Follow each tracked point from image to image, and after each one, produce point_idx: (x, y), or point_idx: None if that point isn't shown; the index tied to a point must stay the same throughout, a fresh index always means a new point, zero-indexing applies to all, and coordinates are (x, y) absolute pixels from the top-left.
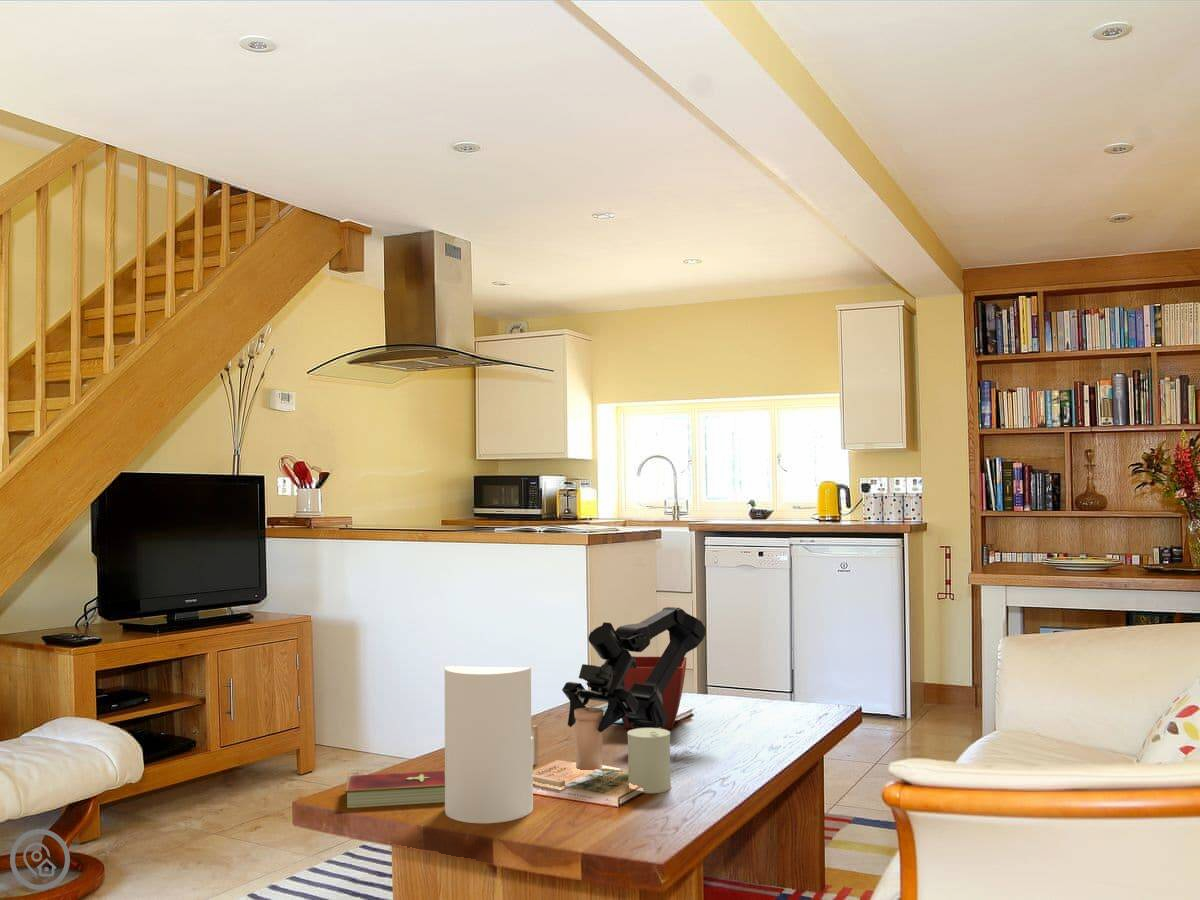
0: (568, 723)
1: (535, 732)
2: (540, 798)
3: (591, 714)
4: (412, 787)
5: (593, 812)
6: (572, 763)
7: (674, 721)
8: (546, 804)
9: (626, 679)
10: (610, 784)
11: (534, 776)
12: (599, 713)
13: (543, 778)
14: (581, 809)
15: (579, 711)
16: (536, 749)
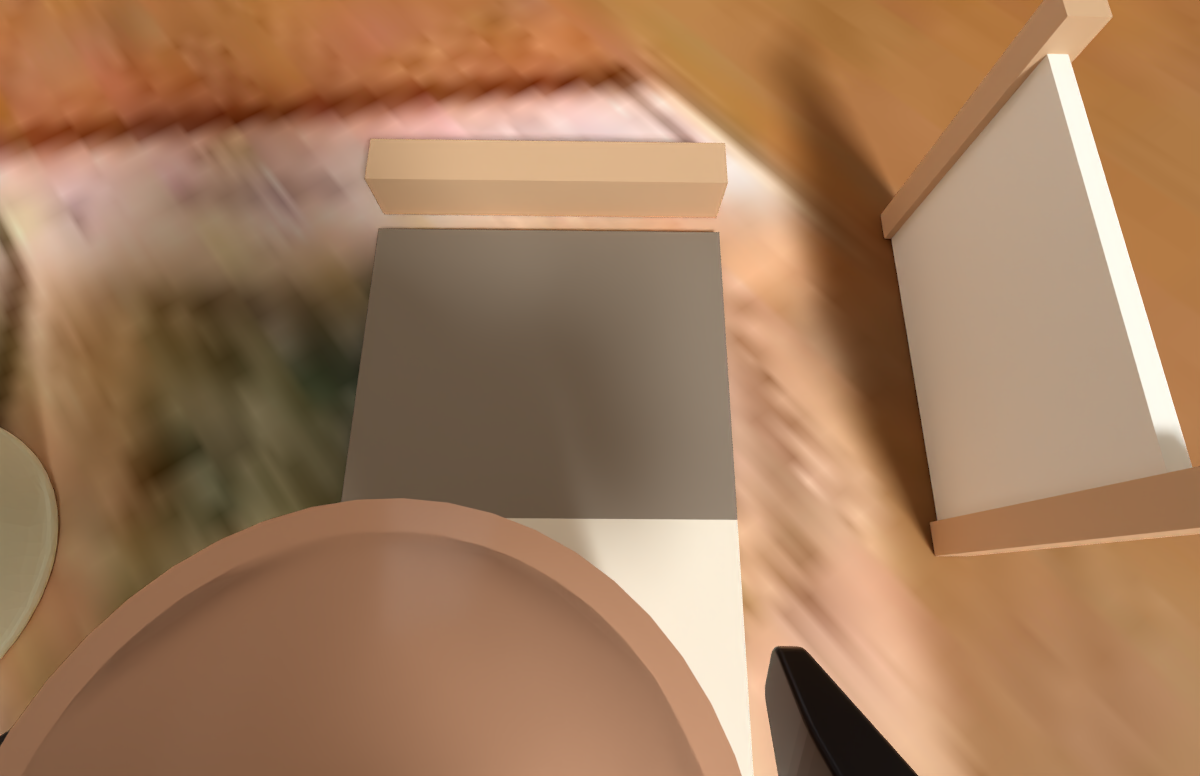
0: (792, 652)
1: (1140, 489)
2: (416, 55)
3: (114, 622)
4: None
5: (54, 33)
6: (748, 744)
7: None
8: (331, 9)
9: None
10: (193, 466)
11: (588, 147)
12: None
13: (512, 146)
14: (131, 36)
15: (499, 641)
16: (1009, 524)
